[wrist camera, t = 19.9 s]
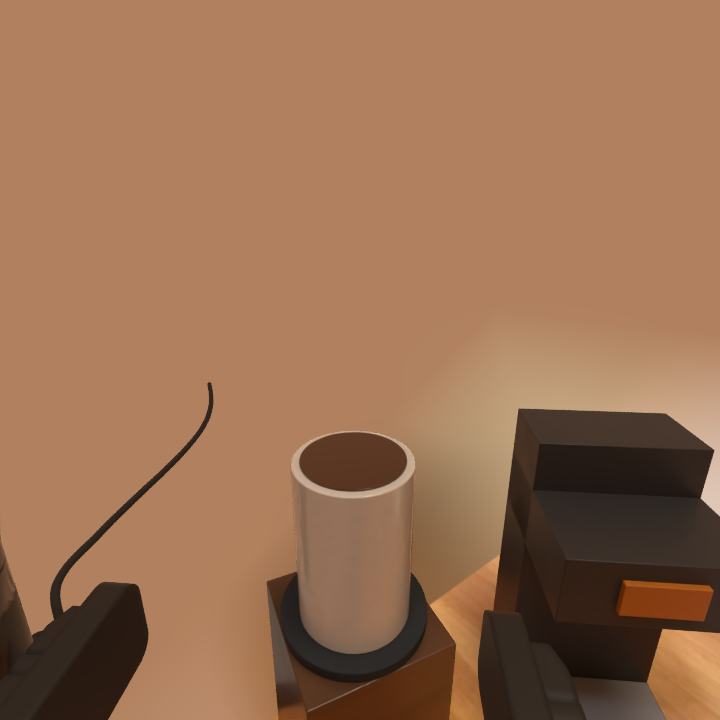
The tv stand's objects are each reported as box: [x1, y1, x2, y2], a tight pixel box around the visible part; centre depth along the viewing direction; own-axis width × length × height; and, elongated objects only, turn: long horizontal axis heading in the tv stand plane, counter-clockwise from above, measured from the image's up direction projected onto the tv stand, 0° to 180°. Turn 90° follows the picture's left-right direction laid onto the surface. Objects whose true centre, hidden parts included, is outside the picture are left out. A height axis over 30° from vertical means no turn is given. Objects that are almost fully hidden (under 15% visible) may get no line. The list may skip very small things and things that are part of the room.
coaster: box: [280, 573, 427, 683], centre depth 24 cm, size 8×8×1 cm
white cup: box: [291, 431, 416, 654], centre depth 22 cm, size 6×6×9 cm
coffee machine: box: [493, 409, 720, 720], centre depth 33 cm, size 16×12×24 cm
